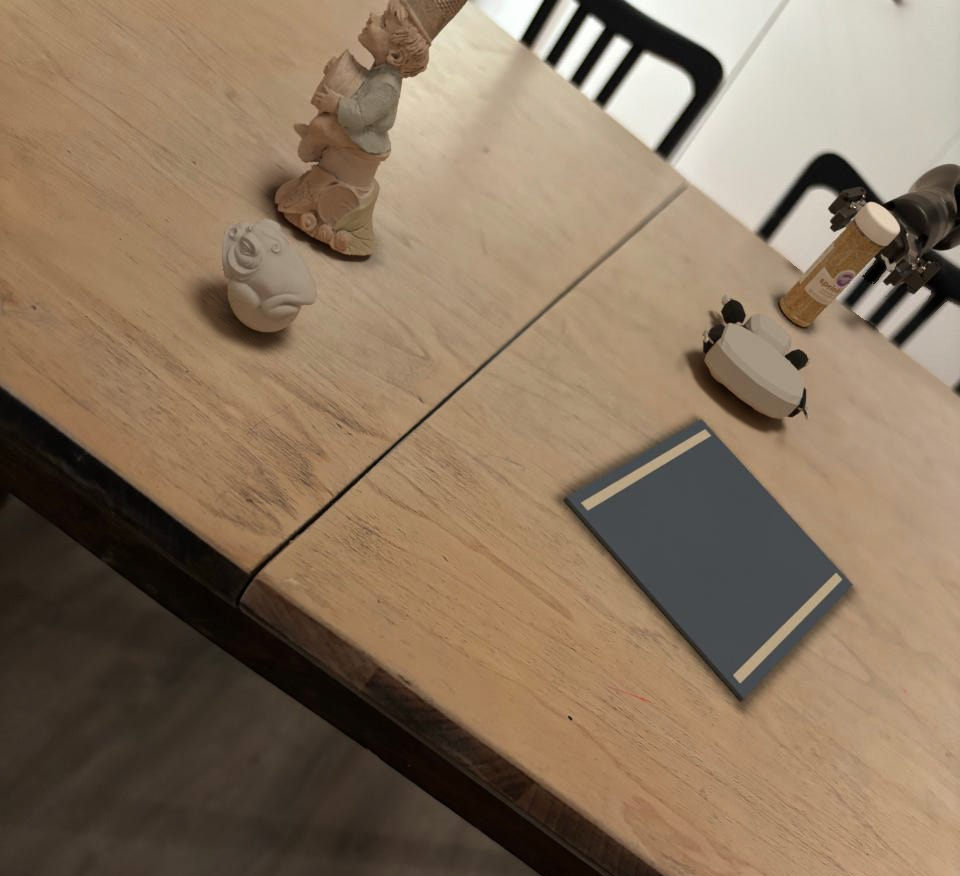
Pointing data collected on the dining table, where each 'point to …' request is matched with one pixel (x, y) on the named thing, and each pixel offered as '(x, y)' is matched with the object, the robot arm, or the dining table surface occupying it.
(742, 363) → the robot toy
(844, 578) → the napkin
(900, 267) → the robot arm
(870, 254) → the sprinkles bottle
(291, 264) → the frog figurine
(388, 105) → the figurine
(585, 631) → the dining table surface
